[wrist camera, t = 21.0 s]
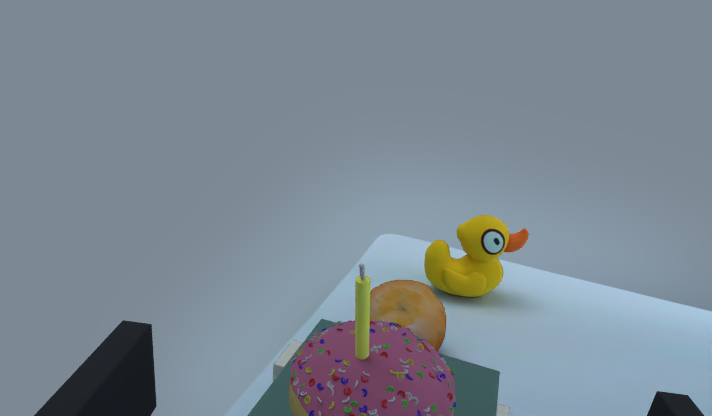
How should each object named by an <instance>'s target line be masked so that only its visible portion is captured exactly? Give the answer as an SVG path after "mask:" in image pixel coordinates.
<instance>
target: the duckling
mask: <svg viewBox="0 0 712 416" xmlns="http://www.w3.org/2000/svg"><path fill="white" fill-rule="evenodd" d="M457 237H458V239H459V240H460V242H461V245H462V247H463V250H464V251H465V252H466V253H467V255H465V256H463V257H462V258H460V259H455V258H452V257H451V256H450V251H449V247H448V244H447V243H446V242H445V241H443V240H436V241H434V242H433V243H432V244H431V245H430V246H429V247H428V248H427V250H426V254H425V263H424V266H425V273H426V276H427V278H428V280H429V281H430V282H431V283H432V284H433V285H434V286H435V287H437V288H438V289H440V290H442V291H445V292H447V293H450V294H453V295H460V296H467V297H479V296H482V295H484V294H486V293H488V292H489V291H491V290H493V289H494V288H495V287H497V286H498V284H499V283H500V282H501V280H502V277H503V268H502V265H501V263H500V261H499V260H498V259H497V258H498V257H499V256H500V255H501V254H502V252H513V251H516V250H519V249H520V248H522V247H523V245H524V244H525V243H526V241H527V239H528V231H527V230H526V229H523V230H521V231H520V232H518V233H515V234H509V231H508V228H507V226H506V225H505V224H504V223H503V222H502V221H500V220H499V219H497V218H495V217H493V216H489V215H480V216H477V217H474V218H472V219H470V220H468V221H467V222H465V223H463V224H461V225H460V226H459V227H458V228H457Z"/></svg>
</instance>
